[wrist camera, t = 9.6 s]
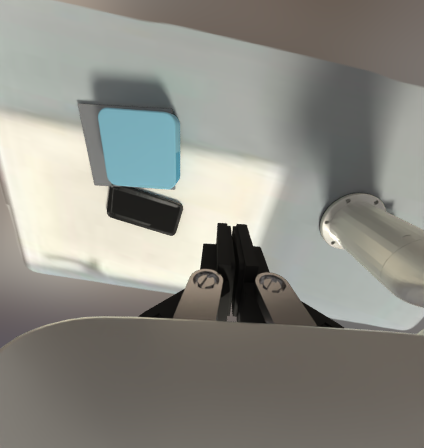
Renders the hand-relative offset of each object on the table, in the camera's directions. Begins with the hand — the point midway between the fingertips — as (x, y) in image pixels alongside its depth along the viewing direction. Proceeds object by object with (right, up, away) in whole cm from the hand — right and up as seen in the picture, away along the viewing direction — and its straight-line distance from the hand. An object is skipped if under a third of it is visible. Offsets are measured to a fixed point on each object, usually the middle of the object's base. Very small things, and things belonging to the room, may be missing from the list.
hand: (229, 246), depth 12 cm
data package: (-7, +14, +23) cm, 27 cm away
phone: (-15, +5, +31) cm, 35 cm away
